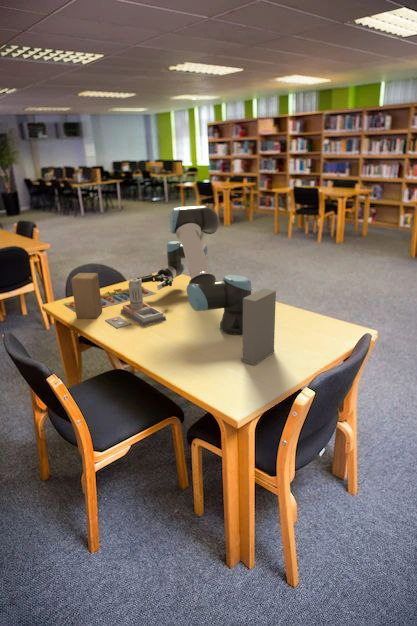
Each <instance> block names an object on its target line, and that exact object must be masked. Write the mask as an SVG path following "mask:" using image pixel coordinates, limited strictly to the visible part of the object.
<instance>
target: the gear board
mask: <svg viewBox="0 0 417 626" xmlns="http://www.w3.org/2000/svg"><path fill="white" fill-rule="evenodd" d="M100 295H101V304H102V309H103V308H104V309H105V308H109V307H112V306H115V305H119V304H123V303H127V302H130V295H129V287H128V288H124V289H122V288H118V289H113V291H107V292H105V293H103V294H100ZM154 295H157V293H156V292H153V291H151V290H149V289H147V288H145V287H144V286H142V297H143V298H147V297H150V296H154ZM63 305H64V306H65V307H67V308H68V309H70V310H71V311H73V312H74V313H76V310H75V303H74V300H73V301H70V302H66V303H63Z"/></svg>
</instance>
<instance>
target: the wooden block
mask: <svg viewBox="0 0 417 626" xmlns="http://www.w3.org/2000/svg"><path fill="white" fill-rule="evenodd" d="M70 281H71V289H72V297H73V301H74V303H75V310H76V312H75V315H76V316H75V317H76V318H77V319H88V320H89V319H94V320H95V319H97V318H98V317H99V316H100V315H101V314H102V312H103V308H102V304H101V295H102V294H101V287H100V281H99V274H98V273H97V272H78V273H77V274H76V275H74V276H73V277H71V280H70Z"/></svg>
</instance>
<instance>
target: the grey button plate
mask: <svg viewBox="0 0 417 626" xmlns="http://www.w3.org/2000/svg"><path fill="white" fill-rule="evenodd" d="M105 322H106V323H108V324H109V325H111V326H113V328H115V329H120V328H124V327H126V326H127V327H128V326H131V325H132V323H130V322H129V321H127V320H126V319H124V318H123V317H121V316H114V317H111V318H107V319H105Z"/></svg>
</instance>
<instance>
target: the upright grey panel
mask: <svg viewBox="0 0 417 626" xmlns="http://www.w3.org/2000/svg"><path fill="white" fill-rule="evenodd" d="M276 293H277V291H276V290H273V289H267V288H262V289H260V290H257V291H255V292H254V293H251V295H249V296H247V297H245V298H243V334H242V353H241V354H242V357H240V361H241V362H242V363H246V364H250V365H252V366H256V365H257V364H258V363H260V362H261V361H263V360H264V359H266V358H267V357H269V356H271V355H272V354H274V353H275V330H276V329H275V328H276V327H275V326H276V298H277V297H276V295H277V294H276Z"/></svg>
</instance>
